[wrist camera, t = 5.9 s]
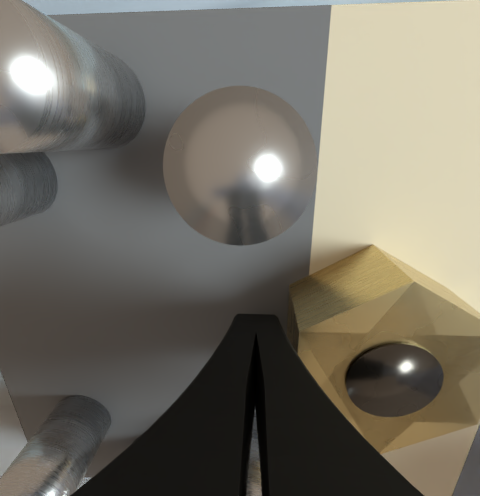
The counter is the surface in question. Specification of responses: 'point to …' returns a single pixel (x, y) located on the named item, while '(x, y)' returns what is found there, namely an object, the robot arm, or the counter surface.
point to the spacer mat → (257, 255)
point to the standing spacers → (175, 176)
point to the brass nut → (388, 348)
